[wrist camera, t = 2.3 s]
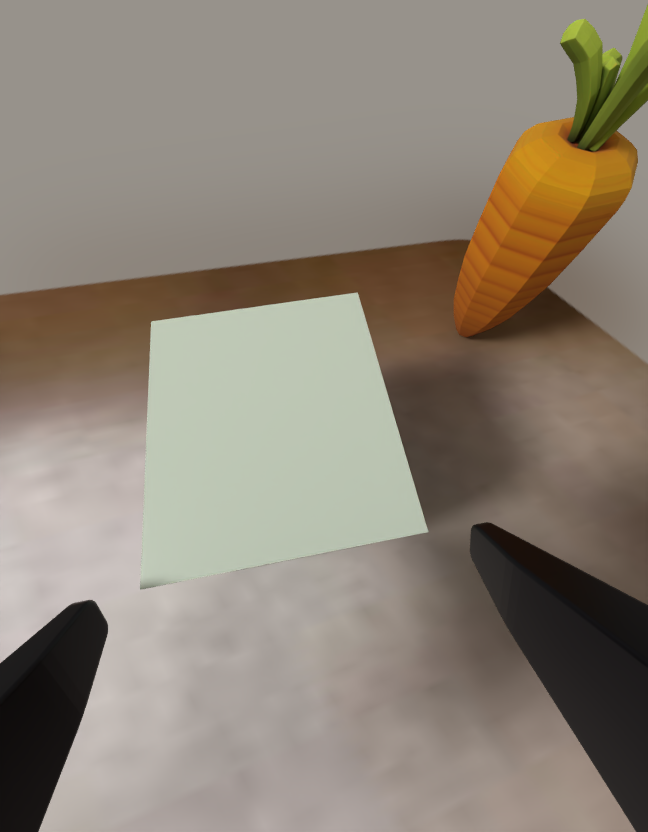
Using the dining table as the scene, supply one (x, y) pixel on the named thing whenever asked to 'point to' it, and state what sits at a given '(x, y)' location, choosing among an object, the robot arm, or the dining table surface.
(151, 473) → the sage cover
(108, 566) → the dining table surface
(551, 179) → the carrot
